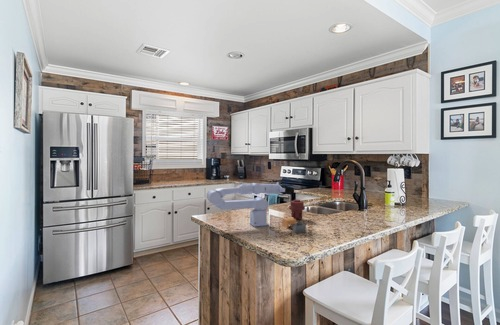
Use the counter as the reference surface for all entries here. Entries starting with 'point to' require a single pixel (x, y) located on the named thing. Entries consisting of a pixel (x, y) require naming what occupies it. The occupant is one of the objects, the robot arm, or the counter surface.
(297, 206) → the mechanical component
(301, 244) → the counter surface
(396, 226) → the counter surface
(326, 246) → the counter surface
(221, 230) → the counter surface
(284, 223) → the notched orange block
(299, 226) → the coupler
